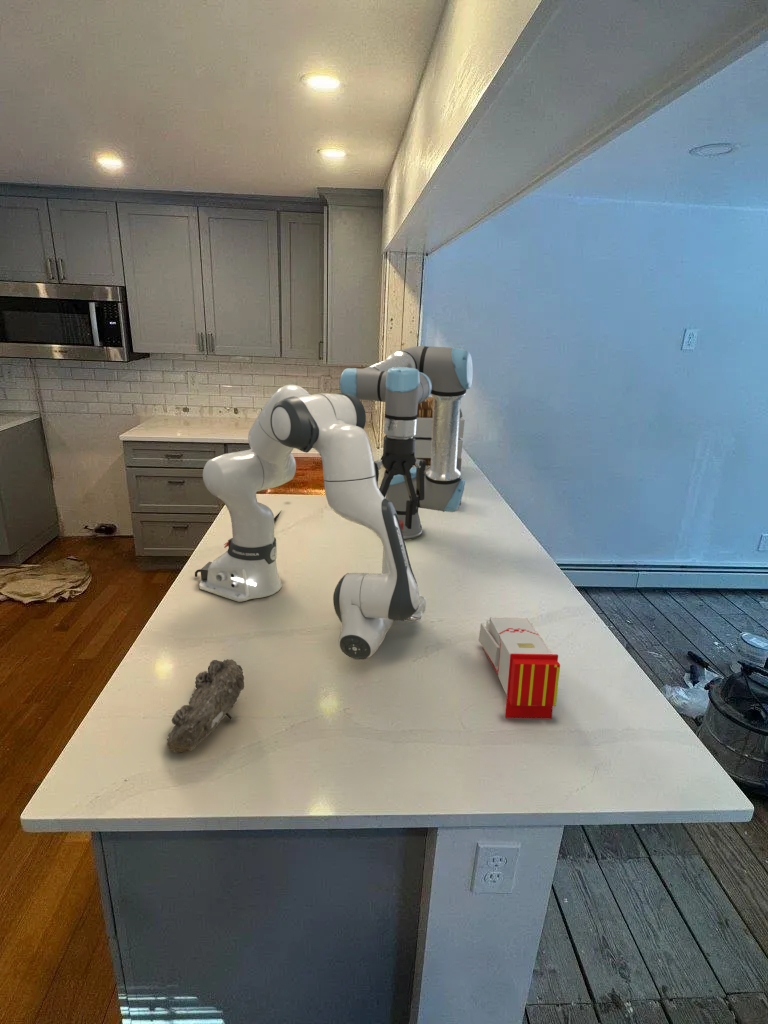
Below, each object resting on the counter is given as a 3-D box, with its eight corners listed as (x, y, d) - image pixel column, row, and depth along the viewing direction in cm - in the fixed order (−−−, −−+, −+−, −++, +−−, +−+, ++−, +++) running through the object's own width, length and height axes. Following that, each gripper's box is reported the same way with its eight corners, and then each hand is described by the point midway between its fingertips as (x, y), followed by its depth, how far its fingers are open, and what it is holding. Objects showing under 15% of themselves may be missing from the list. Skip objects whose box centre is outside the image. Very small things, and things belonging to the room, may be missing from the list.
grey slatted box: (382, 463, 289) (386, 382, 275) (445, 464, 293) (451, 384, 279) (390, 482, 257) (394, 392, 243) (460, 483, 261) (468, 394, 247)
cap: (406, 529, 140) (406, 523, 139) (392, 532, 138) (393, 525, 137) (397, 524, 143) (397, 518, 142) (383, 527, 141) (384, 520, 140)
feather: (288, 505, 226) (290, 501, 226) (271, 529, 199) (273, 524, 199) (284, 503, 226) (287, 499, 225) (266, 526, 199) (269, 522, 199)
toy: (525, 603, 136) (569, 660, 107) (520, 654, 139) (562, 725, 109) (475, 601, 135) (505, 659, 106) (471, 653, 138) (499, 724, 109)
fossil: (192, 660, 117) (244, 628, 112) (224, 691, 120) (276, 661, 115) (142, 746, 98) (202, 712, 93) (182, 779, 101) (242, 748, 96)
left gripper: (420, 609, 131) (432, 583, 143) (337, 594, 136) (356, 570, 148) (418, 633, 133) (430, 605, 145) (336, 617, 138) (355, 591, 150)
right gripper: (432, 431, 138) (426, 520, 146) (356, 433, 133) (353, 524, 141) (443, 438, 132) (436, 530, 139) (364, 440, 126) (360, 536, 134)
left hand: (392, 587), depth 147 cm, fingers closed on bottle, 5 cm apart
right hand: (394, 527), depth 140 cm, fingers open, 6 cm apart
